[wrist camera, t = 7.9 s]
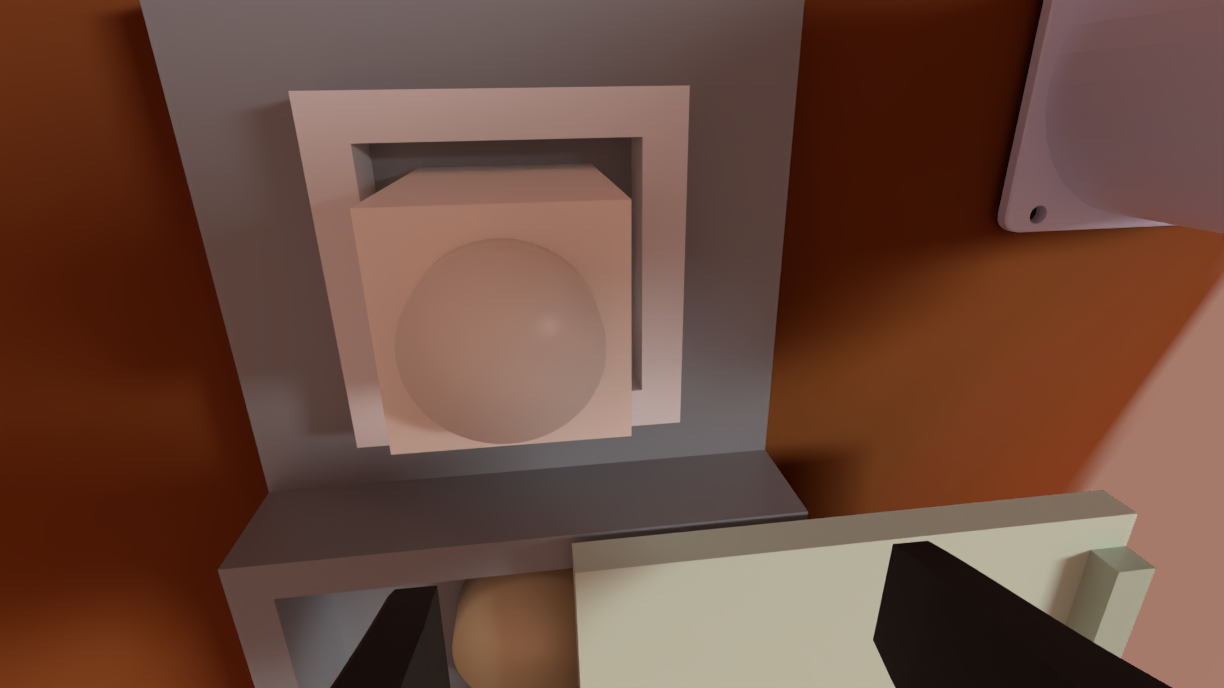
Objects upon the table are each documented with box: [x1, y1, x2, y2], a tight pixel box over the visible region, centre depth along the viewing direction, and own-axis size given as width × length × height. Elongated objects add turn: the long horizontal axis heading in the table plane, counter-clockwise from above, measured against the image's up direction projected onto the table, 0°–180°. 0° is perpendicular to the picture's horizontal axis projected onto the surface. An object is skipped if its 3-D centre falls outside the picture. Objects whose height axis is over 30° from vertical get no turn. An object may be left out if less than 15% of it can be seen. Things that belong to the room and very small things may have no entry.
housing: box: [140, 0, 808, 688], centre depth 16 cm, size 14×22×4 cm, turn 1°
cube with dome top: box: [350, 163, 632, 455], centre depth 12 cm, size 4×4×7 cm
